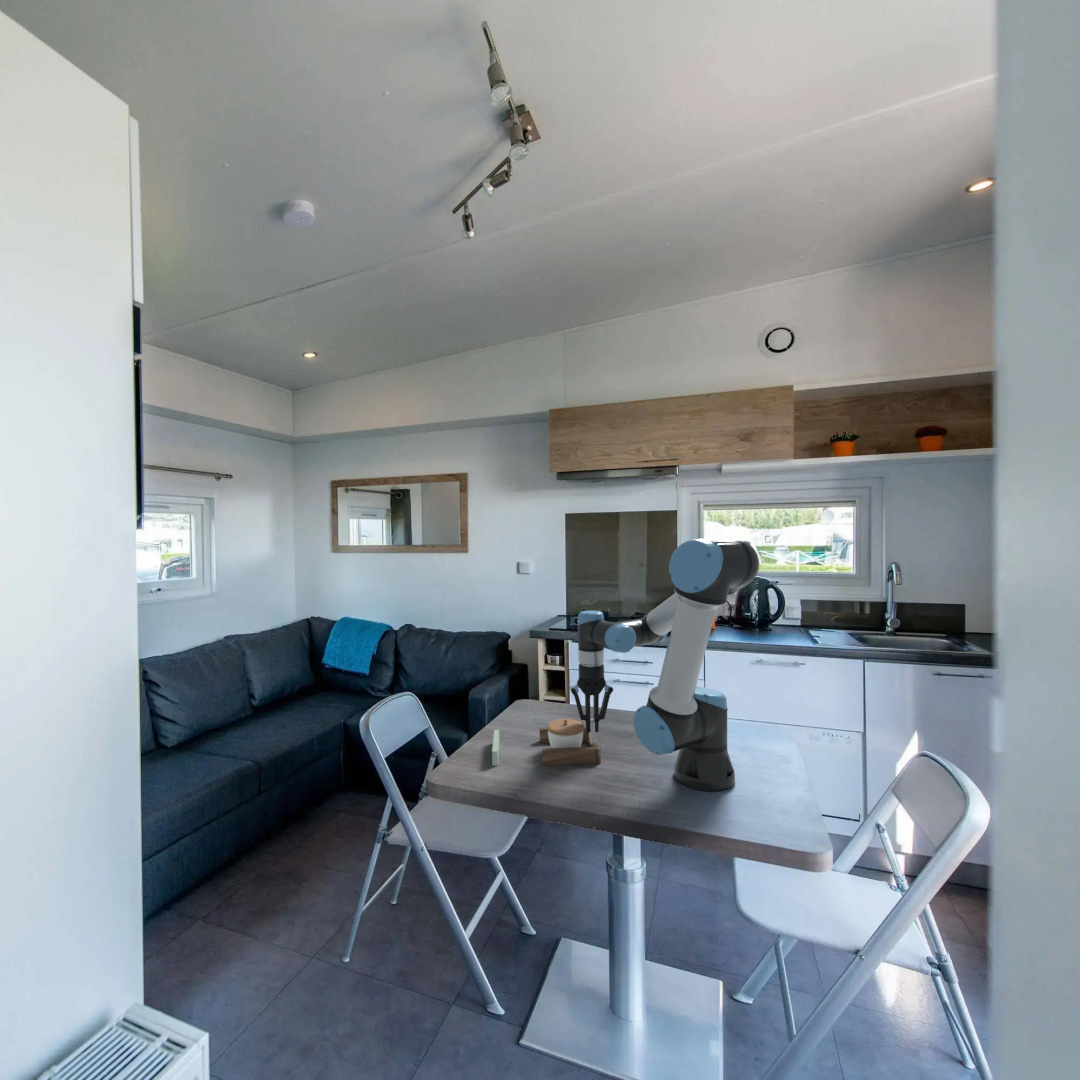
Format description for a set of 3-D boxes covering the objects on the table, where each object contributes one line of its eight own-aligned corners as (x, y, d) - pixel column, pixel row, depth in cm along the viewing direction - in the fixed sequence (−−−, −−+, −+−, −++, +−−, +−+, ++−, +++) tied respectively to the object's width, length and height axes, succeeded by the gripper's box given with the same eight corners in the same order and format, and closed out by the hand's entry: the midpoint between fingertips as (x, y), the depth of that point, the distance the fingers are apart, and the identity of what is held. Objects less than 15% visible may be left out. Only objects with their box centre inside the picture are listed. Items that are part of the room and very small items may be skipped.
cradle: (600, 763, 145) (600, 748, 145) (542, 765, 144) (542, 750, 144) (591, 739, 162) (591, 726, 162) (539, 740, 161) (539, 727, 161)
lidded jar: (558, 741, 160) (558, 711, 160) (590, 748, 155) (589, 717, 155) (540, 754, 151) (540, 722, 151) (573, 762, 146) (573, 728, 145)
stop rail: (497, 765, 144) (497, 751, 144) (492, 765, 144) (492, 751, 144) (499, 742, 160) (499, 729, 160) (494, 742, 160) (494, 729, 160)
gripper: (610, 659, 157) (611, 736, 158) (568, 660, 157) (569, 738, 157) (615, 666, 150) (616, 747, 150) (570, 667, 149) (572, 748, 150)
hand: (592, 742), depth 154 cm, fingers closed
